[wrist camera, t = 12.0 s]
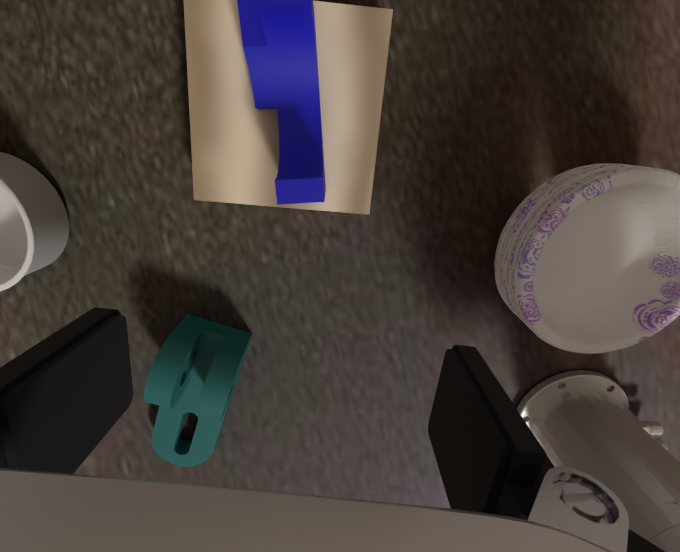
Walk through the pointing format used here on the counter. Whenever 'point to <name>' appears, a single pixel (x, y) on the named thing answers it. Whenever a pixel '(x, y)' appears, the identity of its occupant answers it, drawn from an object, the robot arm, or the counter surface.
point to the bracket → (194, 386)
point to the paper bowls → (594, 257)
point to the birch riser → (262, 125)
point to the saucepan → (28, 221)
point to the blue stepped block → (288, 90)
